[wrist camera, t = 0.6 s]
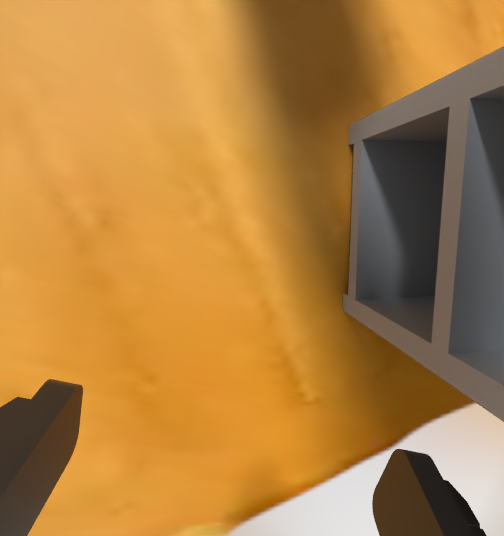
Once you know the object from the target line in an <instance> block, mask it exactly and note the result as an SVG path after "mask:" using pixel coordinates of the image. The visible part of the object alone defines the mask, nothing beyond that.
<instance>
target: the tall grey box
mask: <svg viewBox="0 0 504 536" xmlns="http://www.w3.org/2000/svg"><path fill="white" fill-rule="evenodd" d="M349 145H354V155H353V181H352V208H351V235H350V262H349V289H348V293H343V311H345V312H346V313H347V314H349V315H350V316H352V317H353V318H355V319H356V320H358V321H359V322H360V323H362V324H363V325H365V326H366V327H368V328H369V329H371V330H372V331H373V332H375V333H376V334H378V335H379V336H381V337H382V338H384V339H385V340H386V341H388V342H389V343H391V344H392V345H394V346H395V347H397V348H398V349H399V350H401V351H402V352H404V353H405V354H407V355H408V356H410V357H411V358H412V359H414V360H415V361H417V362H418V363H420V364H421V365H423V366H424V367H425V368H427V369H428V370H430V371H431V372H433V373H434V374H436V375H437V376H438V377H440V378H441V379H443V380H444V381H446V382H447V383H449V384H450V385H451V386H453V387H454V388H456V389H457V390H459V391H460V392H462V393H463V394H464V395H466V396H467V397H469V398H470V399H472V400H473V401H475V402H476V403H477V404H479V405H480V406H482V407H483V408H485V409H486V410H488V411H489V412H490V413H492V414H493V415H495V416H496V417H498V418H499V419H501V420H502V421H504V47H502V48H500V49H498V50H496V51H494V52H492V53H490V54H488V55H486V56H484V57H482V58H480V59H478V60H476V61H474V62H472V63H470V64H468V65H466V66H464V67H462V68H460V69H458V70H456V71H455V72H453V73H451V74H449V75H447V76H445V77H443V78H441V79H439V80H437V81H435V82H433V83H431V84H429V85H427V86H425V87H423V88H421V89H419V90H417V91H415V92H413V93H411V94H409V95H407V96H405V97H404V98H402V99H400V100H398V101H396V102H394V103H392V104H390V105H388V106H386V107H384V108H382V109H380V110H378V111H376V112H374V113H372V114H370V115H368V116H366V117H364V118H362V119H360V120H358V121H356V122H354V123H353V124H351V125H349Z"/></svg>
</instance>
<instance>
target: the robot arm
mask: <svg viewBox="0 0 504 536" xmlns="http://www.w3.org/2000/svg"><path fill="white" fill-rule="evenodd" d="M82 395H83V387H82V385H78V384H73V383H68V382H63V381H57V380H52V379H49V380H48V381H46V382H45V383H44V385H43V386H42V387H41V388H40V389H39V391H38V392H37V393H36V394H35V395H34V397H33V398H32V399H26V398H21V397H17V398H15V399H14V400H12V401H10V402H8V403H7V404H5V405H3V406H2V407H0V536H27V535H28V533H29V531H30V530H31V528H32V526H33V524H34V522H35V521H36V519H37V517H38V515H39V514H40V512H41V510H42V508H43V506H44V505H45V503H46V501H47V499H48V498H49V496H50V494H51V492H52V490H53V489H54V487H55V485H56V483H57V482H58V480H59V478H60V476H61V474H62V473H63V471H64V469H65V467H66V466H67V464H68V462H69V460H70V458H71V456H72V454H73V451H74V448H75V445H76V442H77V438H78V434H79V425H80V415H81V405H82ZM373 515H374V518H375V522H376V525H377V529H378V532H379V535H380V536H486V534H485V532H484V531H483V529H480V524H479V522H478V520H477V519H476V517H475V515H474V513H473V512H472V510H471V508H470V507H469V505H468V503H467V501H466V500H465V499H464V498H463V497H462V496H461V495H460V494H459V493H458V491H457V490H456V489H455V488H454V487H453V486H452V485H451V484H450V483H449V481H446V480H443V478H442V476H441V475H440V473H439V471H438V469H437V467H436V466H435V464H434V462H433V460H432V459H431V457H430V456H428V455H427V454H422V453H417V452H412V451H407V450H402V449H396V450H395V451H394V452H393V453H392V455H391V457H390V459H389V461H388V463H387V466H386V468H385V470H384V472H383V474H382V476H381V478H380V480H379V482H378V484H377V486H376V488H375V491H374V495H373Z"/></svg>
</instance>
